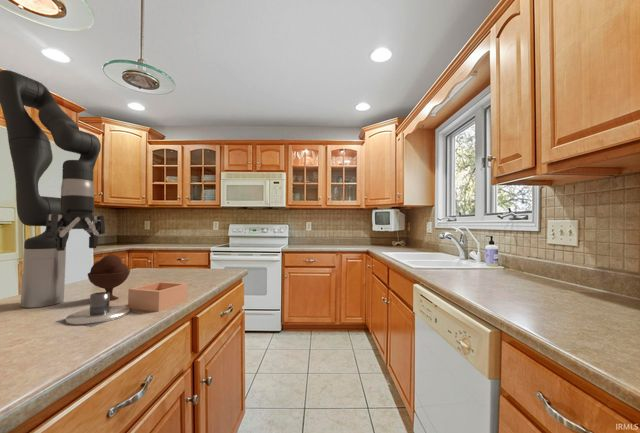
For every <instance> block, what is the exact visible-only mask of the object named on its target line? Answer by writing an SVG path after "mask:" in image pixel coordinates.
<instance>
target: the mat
mask: <svg viewBox="0 0 640 433" xmlns="http://www.w3.org/2000/svg"><path fill="white" fill-rule="evenodd" d="M137 312H139V311H138V310H132V309H131V310H130V312H129V314H127V315H126V316H129V315H132V314H135V313H137ZM55 322H56V323H62V324H67V323H66V318H63V319H60V320H57V321H55ZM107 322H109V321H107ZM107 322H102V323H96V324H87V325H82V326H84V327H92V328H93V327H95V326H98V325H102V324H104V323H107Z"/></svg>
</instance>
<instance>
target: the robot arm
mask: <svg viewBox="0 0 640 433" xmlns="http://www.w3.org/2000/svg"><path fill="white" fill-rule="evenodd" d="M0 107H1V111H2V114H3V118H4V122H5V126H6V133H7V141H8V147H9V152H10V157H11V161H12V166H13V171H14V172H13V173H14V174H13V175H14V180H15V201H16V211H17V212H16V213H17V217H18V219H19V222H20V223H21V224H22V225H24V226H29V227H45V230H44V231H43V232H42V233H40V234H38V235H35V236H32V237H29V238H27V239H25V240H24V243H23V268H22V274H21V292H20V305H21V307H22V308H27V309H28V308H29V309H30V308H41V307H47V306H53V305H57V304H60V303H63V302H64V301H65V289H66V288H65V284H66V283H65V281H66V280H65V278H66V259H67V258H66V254H67V242H68V239H69V236H70V232H71V230H84V232H86V233H87V234H88V235H89V236H88V248H89V249H96V248H97V247H98V245H99V236H101V235H103V234H105V233H106V226H105V224H106V223H105V216H104V215H94V211H95V186H94V184H95V183H94V170H95V169H94V168H95V166H96V163H97V160H98V157H99V154H100V152H101V150H102V149H101V147H102V144H101V141H100V139H99V138H98V137H97V135H96V134H93V133H90V132H87V131H83V130H80V127H79V125H78V124H77V123H76V121H74V119H73V118H71V117H70V116H69V115H68V114H67V113H66V112H65V111H64V110H63V109H62V108H61V107H60V105H59V104H58V102H57V101H56V99H55V97H54V96H53V95H52V93H51V92H50V90H49V88H47V86H45V85H44V84H43V83H42V82H39V81H38V80H36V79H33V78H31V77H28V76H27V75H24V74H21V73H18V72H15V71H13V70H10V69H3V70H0ZM25 107H28V108H33V109H36V110H37V111H38V113H37V114H38V115H37V116H38V119H39V122H40V123H41V124H42V125H43V127H44V128H45V129H47V130H48V131H49V132H50V135H51V136H52V138H53V142H54V145H55V146H56V147H58V148H59V149H61V150H63V151H66V152H70V153H74V154H78V155H80V156H79V158H78V159H67V160H65V161H63V163H62V176H61V178H62V179H61V181H62V182H61V187H60V197H56V196H43V195H40V191H39V181H40V180H41V177H42V176H43V174H44V173H45V172H46V171H47V170H48V168H49V167H50V165H51V164H52V163H53V161H54V160H53V159H54V158H53V150H52V145H51V141H50V139H49V138H48V135H47V134H46V132H44V130H43V129H42V128H41V126H39V124H37V122H35V120H34V119H33V118H32V117H31V116H30V114H29V113H28V112H27V110H26V108H25ZM93 222H94V223H93Z"/></svg>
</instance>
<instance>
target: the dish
mask: <svg viewBox="0 0 640 433" xmlns="http://www.w3.org/2000/svg"><path fill="white" fill-rule="evenodd" d="M127 290H128V291H127V292H128V296H127V307H129V308H130V309H131V310H132V309H133V310H141V311H151V312H162V311H164V310H166V309H170V308H172V307H175V306H177V305H180V304H183V303H186V302H188V296H189V283H182V282H181V283H180V282H171V281H169V282H168V281H158V282H152V283H149V284H145V285H141V286H136V287H132V288H128V289H127Z"/></svg>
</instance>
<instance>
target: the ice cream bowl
mask: <svg viewBox="0 0 640 433" xmlns="http://www.w3.org/2000/svg"><path fill="white" fill-rule="evenodd" d="M130 272H131V269H129V266H127V265H126V264H124V263H123V260H122V258H121V257H120V256H118V255H117V254H116V255H115V254H107V255H104V256H103V257H102V258H101V259H100V260H98V261H96V262H95V263H93V264H92V266H91V268H90V271H89V273H87V278H88V280H89V282H90V283H91V284H93V285H94V286H95V287H97V288H101V289H104V290H105V292H110V302H112V301H116V300H119V297H117V296H115V295H113V290H114V289H115V288H118V287H119V286H120V285H122V284H123V283H124V282H125V281H126V280H127V279H128V277H129V276H130Z"/></svg>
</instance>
